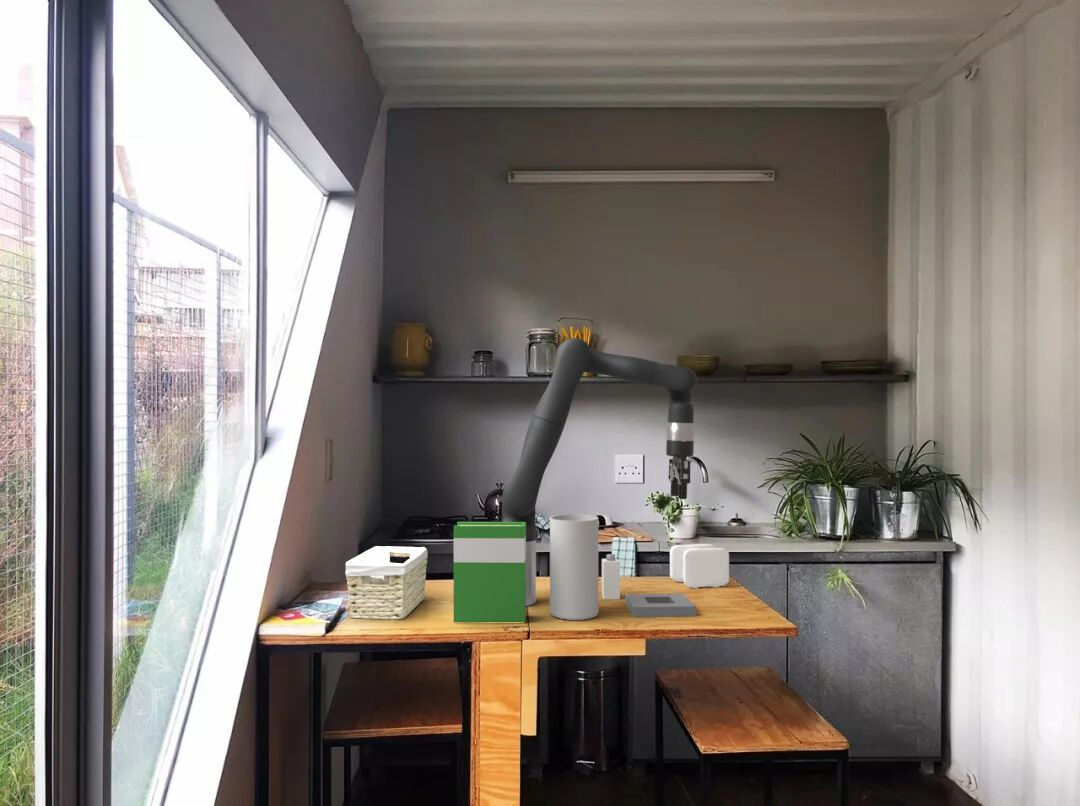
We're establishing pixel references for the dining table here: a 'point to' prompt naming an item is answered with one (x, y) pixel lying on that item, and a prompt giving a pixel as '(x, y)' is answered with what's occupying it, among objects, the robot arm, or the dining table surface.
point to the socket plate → (659, 605)
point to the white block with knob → (610, 577)
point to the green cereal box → (490, 572)
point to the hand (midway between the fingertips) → (678, 497)
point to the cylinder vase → (574, 566)
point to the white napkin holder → (699, 565)
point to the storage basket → (386, 582)
